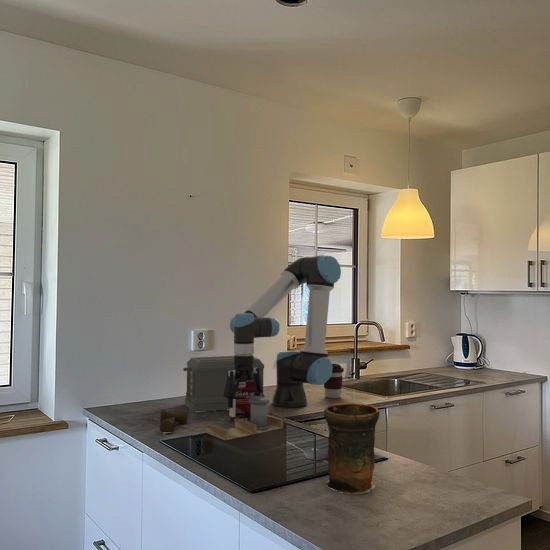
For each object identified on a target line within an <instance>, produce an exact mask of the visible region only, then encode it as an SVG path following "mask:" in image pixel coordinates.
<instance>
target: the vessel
mask: <svg viewBox="0 0 550 550" xmlns="http://www.w3.org/2000/svg"><path fill="white" fill-rule="evenodd" d="M323 412H324V413H323V417H324V419H325V422H326V424H327V427H328V431H329V432H328V436H327V437H328V438H327V439H328V441H327V442H328V443H327V444H328V445H327V446H328V447H327V458H328V480H327V481H326V483H325V486H326V485H328V487H330V488H333V489H335V490H337V491H338V492H343V493H345V494H344V495H354V496H355V495H365V494H368V493H371V491H373V490H374V489H375V487H376V486H377V485H376V484H374V482H373V474H374V470H375V466H376V465H375V442H376V441H375V440H376V438H375V437H376V435H375V434H376V426H377V423H378V422H379V419H380V410H379V408H377V407H375V406H373V405H371V404H370V405H369V404H368V405H367V404H364V403H351V402H350V403H340V402H339V403H334V404H333V403H331V404H330V405H328V406H326V407H325V409H324V410H323ZM338 492H337V493H338Z"/></svg>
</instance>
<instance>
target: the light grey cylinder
mask: <svg viewBox="0 0 550 550" xmlns="http://www.w3.org/2000/svg"><path fill="white" fill-rule="evenodd" d="M249 402H250V403H251V419H250V421H249V422H250V423H253V424H256V430H266V429H269V425H268V424H267V415H268V404H269V403H270V399H269V398H268V397H265V398H262V397H256V398H250V399H249Z"/></svg>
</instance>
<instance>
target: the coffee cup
mask: <svg viewBox="0 0 550 550" xmlns="http://www.w3.org/2000/svg"><path fill="white" fill-rule="evenodd" d="M332 367H333V369H332V374H331V376H330V378H329V380H327V382H326V383H324V384H323V388H324V397H326V398H328V399H339V398H341V396H342V388H343V373H344V371H345V370H344V369H345V368H344V367H342V366H341V364H338V363H332Z"/></svg>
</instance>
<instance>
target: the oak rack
mask: <svg viewBox="0 0 550 550" xmlns="http://www.w3.org/2000/svg"><path fill="white" fill-rule="evenodd" d="M267 424H268V425H269V429H266V430H256V424H253V423H250V421H243V420H240V419H235V422H234V427H231V428H226V429H225V428H223V427H219V426H216V425H214V424H210V423H206V434H208V435H210V436H211V437H215V438H218V439H221V440H222V441H228V440H232V439H238V438H243V437H247V436H252V435H257V434H262V433H265V432H271V431H276V430H280V429H283V428H284V419H283V418H280V417H275V416H272V415H269V414H267Z"/></svg>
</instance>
